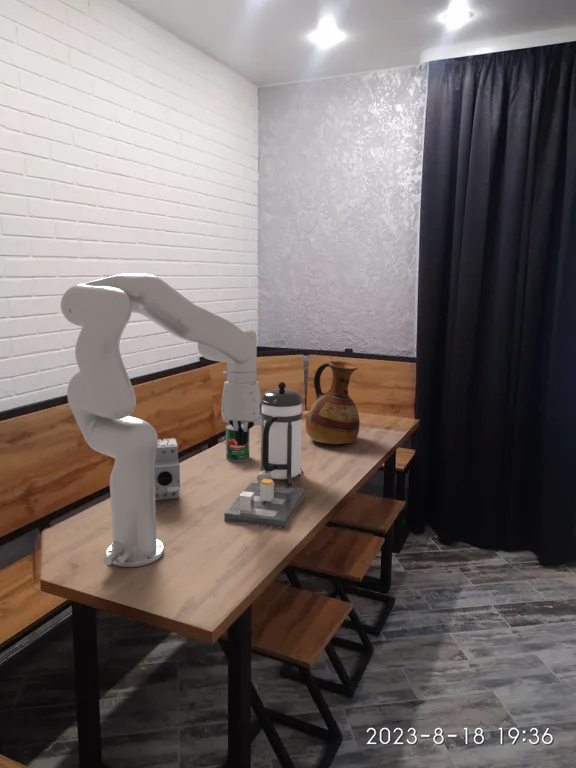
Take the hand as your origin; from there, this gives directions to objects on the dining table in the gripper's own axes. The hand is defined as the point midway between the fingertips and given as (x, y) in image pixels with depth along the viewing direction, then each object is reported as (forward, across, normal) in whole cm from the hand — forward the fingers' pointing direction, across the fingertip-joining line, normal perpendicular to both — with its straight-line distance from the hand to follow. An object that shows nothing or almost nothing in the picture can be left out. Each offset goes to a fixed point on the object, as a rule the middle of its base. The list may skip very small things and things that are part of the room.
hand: (242, 444), depth 156 cm
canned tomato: (+17, -14, +36) cm, 42 cm away
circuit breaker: (+17, -22, -2) cm, 28 cm away
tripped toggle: (+15, +7, 0) cm, 16 cm away
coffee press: (+17, +5, +21) cm, 28 cm away
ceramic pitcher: (+17, +13, +64) cm, 68 cm away
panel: (+17, +7, 0) cm, 18 cm away
